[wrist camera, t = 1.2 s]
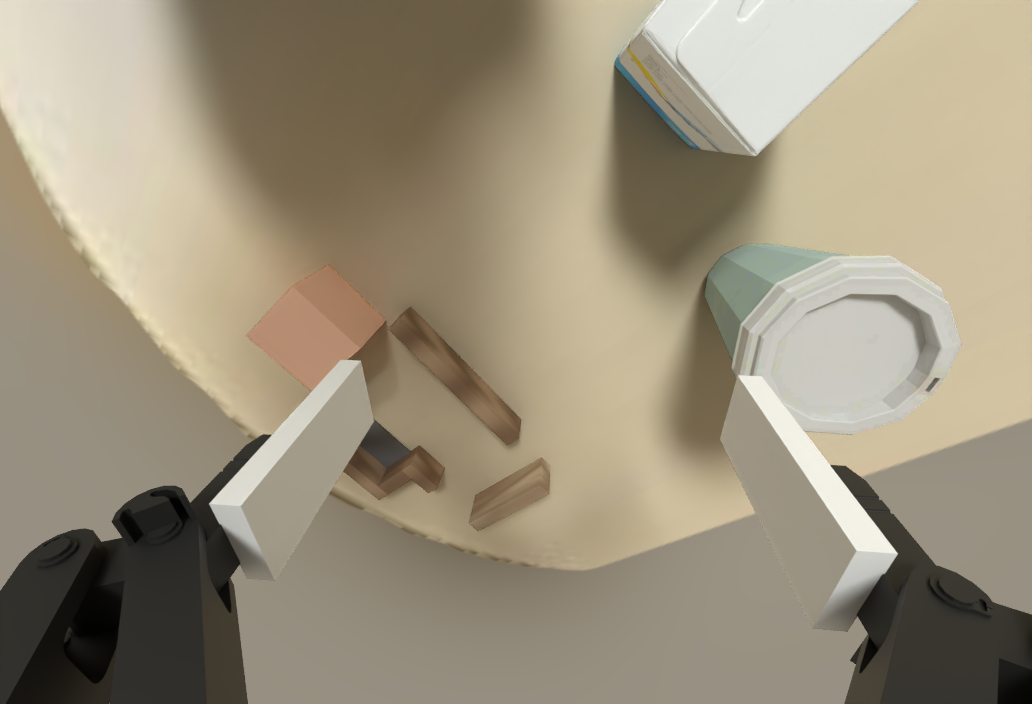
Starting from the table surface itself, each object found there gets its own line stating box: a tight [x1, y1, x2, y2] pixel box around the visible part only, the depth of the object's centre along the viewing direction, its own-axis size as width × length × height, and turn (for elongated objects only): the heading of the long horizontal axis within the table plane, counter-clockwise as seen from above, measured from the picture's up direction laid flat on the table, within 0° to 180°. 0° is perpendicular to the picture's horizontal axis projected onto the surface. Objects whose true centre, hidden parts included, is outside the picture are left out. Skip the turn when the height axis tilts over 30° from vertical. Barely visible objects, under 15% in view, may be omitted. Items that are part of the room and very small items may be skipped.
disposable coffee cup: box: [704, 244, 962, 435], centre depth 29 cm, size 11×11×15 cm
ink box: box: [614, 0, 919, 156], centre depth 24 cm, size 8×8×12 cm
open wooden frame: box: [343, 307, 550, 531], centre depth 45 cm, size 23×18×4 cm
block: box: [246, 265, 386, 392], centre depth 38 cm, size 7×7×6 cm
